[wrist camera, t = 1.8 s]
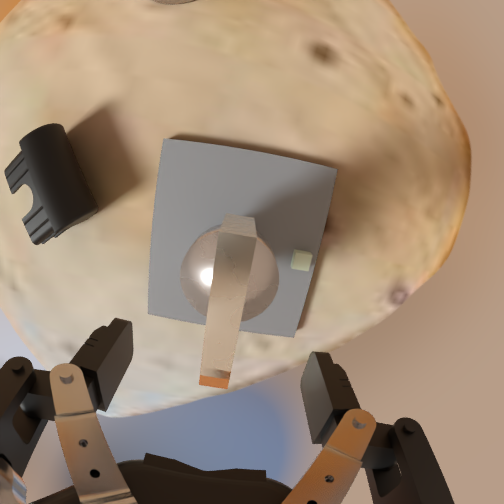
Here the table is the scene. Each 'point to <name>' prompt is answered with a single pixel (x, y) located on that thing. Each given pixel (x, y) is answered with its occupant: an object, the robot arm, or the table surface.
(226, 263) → the lock knob
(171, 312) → the base
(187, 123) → the table surface
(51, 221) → the end cap
